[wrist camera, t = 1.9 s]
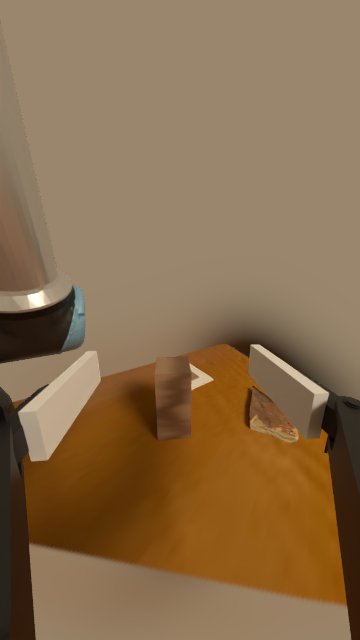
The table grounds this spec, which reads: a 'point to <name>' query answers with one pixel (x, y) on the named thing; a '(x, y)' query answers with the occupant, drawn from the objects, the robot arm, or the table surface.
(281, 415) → the shard
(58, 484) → the table surface
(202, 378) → the swatch
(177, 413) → the walnut block
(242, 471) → the table surface
